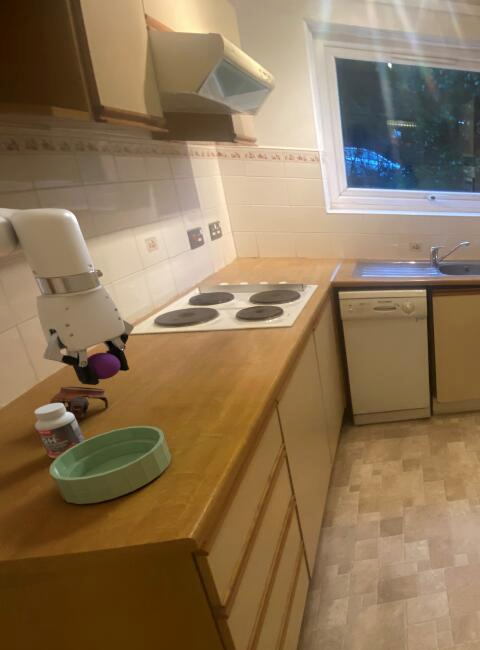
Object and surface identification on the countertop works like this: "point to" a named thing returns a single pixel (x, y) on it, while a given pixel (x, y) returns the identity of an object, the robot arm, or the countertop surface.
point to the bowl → (110, 464)
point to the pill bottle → (57, 429)
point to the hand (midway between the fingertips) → (106, 375)
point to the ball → (104, 365)
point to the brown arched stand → (78, 399)
